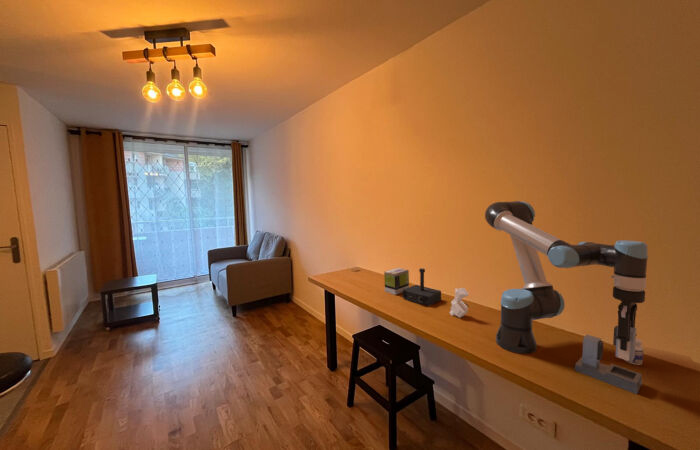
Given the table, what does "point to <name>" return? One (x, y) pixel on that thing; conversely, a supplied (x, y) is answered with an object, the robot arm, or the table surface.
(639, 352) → the pill bottle
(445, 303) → the table surface
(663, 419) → the table surface
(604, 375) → the grey block fixture
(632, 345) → the long gray rectangular block
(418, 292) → the dark box with post
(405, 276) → the tea box
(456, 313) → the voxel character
